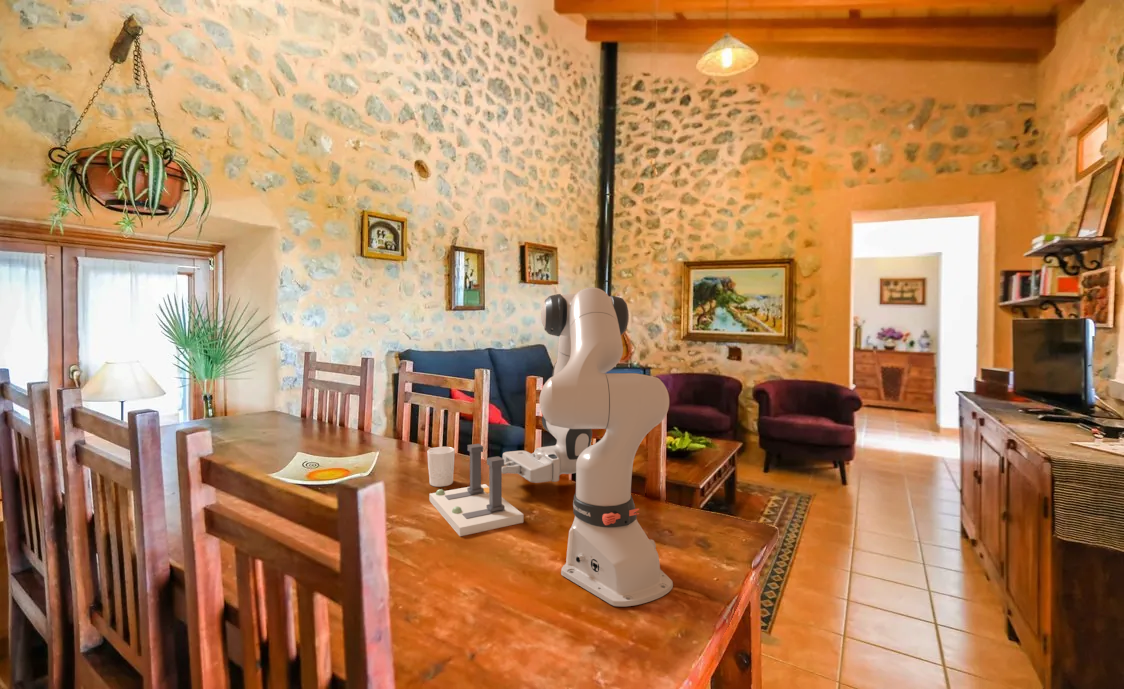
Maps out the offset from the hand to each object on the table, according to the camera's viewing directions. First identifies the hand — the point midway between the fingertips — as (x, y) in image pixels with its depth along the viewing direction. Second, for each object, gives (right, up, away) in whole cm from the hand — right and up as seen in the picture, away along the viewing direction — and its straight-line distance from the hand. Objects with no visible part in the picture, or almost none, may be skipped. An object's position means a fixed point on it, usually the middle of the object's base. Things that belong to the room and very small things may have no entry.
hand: (500, 469), depth 142 cm
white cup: (-19, -7, +11) cm, 23 cm away
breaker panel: (-5, -8, -11) cm, 14 cm away
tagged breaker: (-6, -5, -3) cm, 9 cm away
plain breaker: (+1, -6, -15) cm, 16 cm away
